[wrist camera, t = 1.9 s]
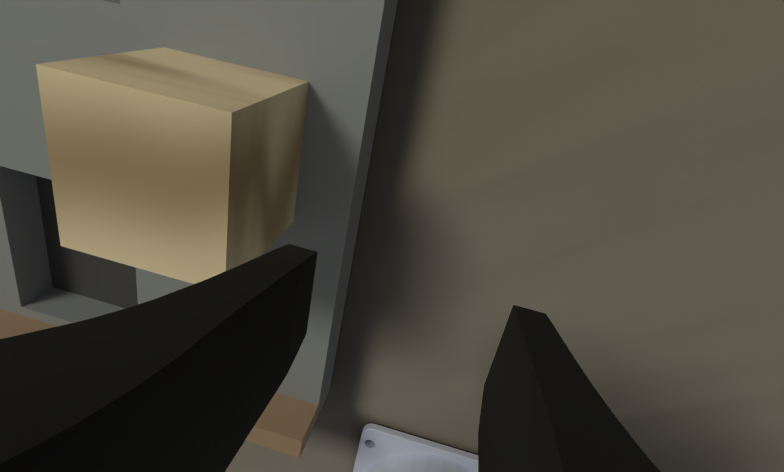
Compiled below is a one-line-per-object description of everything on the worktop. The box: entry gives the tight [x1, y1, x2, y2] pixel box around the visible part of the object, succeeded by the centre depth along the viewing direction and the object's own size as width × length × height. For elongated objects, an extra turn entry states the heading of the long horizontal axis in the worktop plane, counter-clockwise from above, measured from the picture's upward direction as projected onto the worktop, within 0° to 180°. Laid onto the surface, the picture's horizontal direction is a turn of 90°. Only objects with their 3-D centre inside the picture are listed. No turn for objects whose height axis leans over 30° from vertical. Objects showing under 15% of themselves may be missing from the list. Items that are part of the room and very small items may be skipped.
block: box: [36, 47, 309, 284], centre depth 15 cm, size 5×5×5 cm
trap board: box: [0, 0, 398, 458], centre depth 17 cm, size 24×24×5 cm
